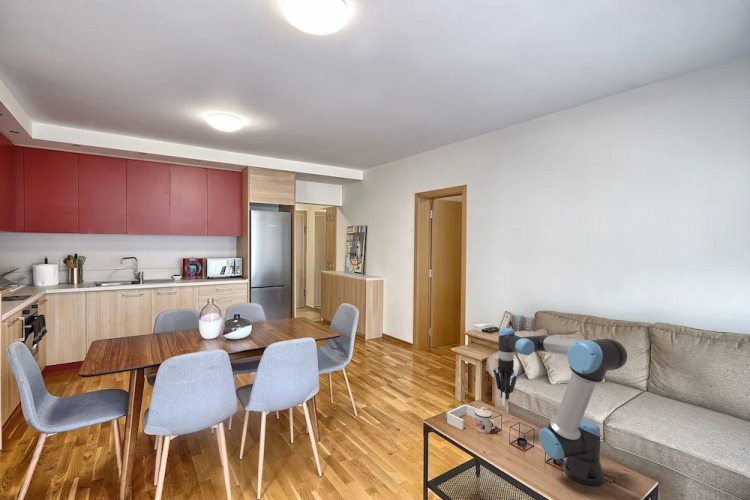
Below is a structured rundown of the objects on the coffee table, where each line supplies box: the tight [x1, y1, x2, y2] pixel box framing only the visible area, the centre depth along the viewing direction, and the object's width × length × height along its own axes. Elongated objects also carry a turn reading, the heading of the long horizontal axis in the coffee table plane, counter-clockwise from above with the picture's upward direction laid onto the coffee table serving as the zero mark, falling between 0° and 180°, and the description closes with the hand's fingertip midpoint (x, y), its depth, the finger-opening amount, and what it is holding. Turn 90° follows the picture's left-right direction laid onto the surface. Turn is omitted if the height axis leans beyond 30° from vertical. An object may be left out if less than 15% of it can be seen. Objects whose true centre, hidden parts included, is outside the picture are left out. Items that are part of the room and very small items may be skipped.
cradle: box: [444, 403, 478, 431], centre depth 201 cm, size 12×19×5 cm, turn 130°
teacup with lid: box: [474, 406, 496, 434], centre depth 190 cm, size 12×9×12 cm
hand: (504, 404), depth 182 cm, fingers closed
